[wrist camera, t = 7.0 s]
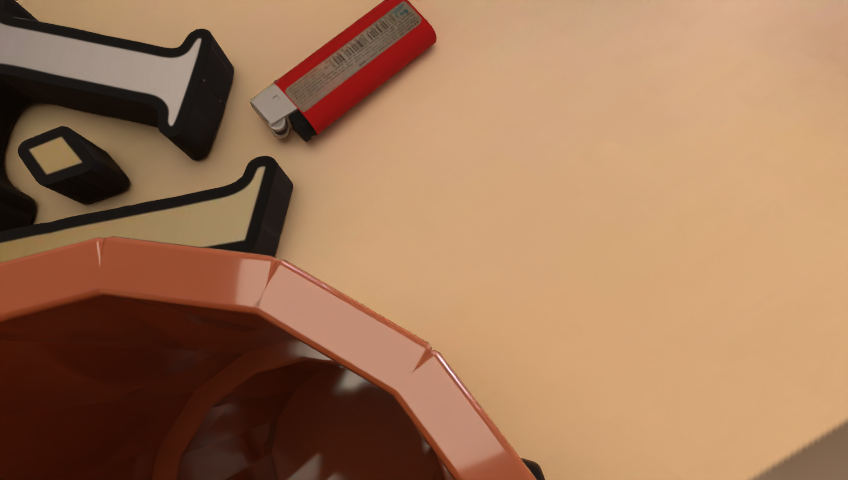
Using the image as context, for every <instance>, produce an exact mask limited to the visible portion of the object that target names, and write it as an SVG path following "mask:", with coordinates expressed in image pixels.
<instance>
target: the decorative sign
mask: <svg viewBox="0 0 848 480" xmlns="http://www.w3.org/2000/svg"><path fill="white" fill-rule="evenodd" d="M233 74H234V69H233V66H232V64H231V63H230V61H229V60H228V58H227V57H226V55H225V54H224V52H223V51H222V49H221V48H220V46H219V45H218V43H217V42H216V40H215V39H214V37H213V36H212V34H211V33H210V31H208V30H206V29H196V30H195V31H193V32H191V33H190V34H189V35H188V36H187V38H186V39H185V41H184V42H183V44H182V45H181V46H180V47H178V48H164V47H159V46H155V45H150V44H146V43H141V42H136V41H131V40H126V39H121V38H115V37H110V36H105V35H101V34H96V33H92V32H88V31H84V30H79V29H75V28H70V27H65V26H59V25H54V24H49V23H43V22H39V21H38V20H37V19H36V18H34V17H33V16H32V15H31V14H30V13H29V12H28V11H26V10H25V9H24V8H23V7H22V6H21V5H19V4H18V3H17V2H16V1H15V0H0V263H1V262H5V261H9V260H13V259H17V258H20V257H24V256H28V255H32V254H36V253H40V252H43V251H47V250H51V249H55V248H59V247H63V246H66V245H70V244H74V243H78V242H82V241H86V240H90V239H93V238H97V237H101V238H107V237H111V236H116V237H124V238H132V239H140V240H148V241H156V242H164V243H173V244H181V245H189V246H197V247H205V248H213V249H221V250H229V251H237V252H245V253H253V254H261V255H269V256H273V257H274V256H275V253H276V250H277V247H278V242H279V238H280V234H281V230H282V227H283V223H284V219H285V215H286V211H287V208H288V204H289V200H290V196H291V192H292V188H293V184H292V182H291V180H290V179H289V178H288V176H287V175H286V174H285V172H284V171H283V170H282V169H281V167H280V166H279V165H278V163H277V162H276V161H275V159H273V158H272V157H269V156H261V157H257V158H255V159H253V160H251V161H250V162H249V163H248V165H247V167H246V170H245V172H244V174H243V176H242V177H241V178H240V179H239V180H238V181H236V182H234V183H232V184H230V185H227V186H224V187H220V188H215V189H210V190H205V191H200V192H195V193H191V194H186V195H181V196H177V197H172V198H166V199H160V200H155V201H149V202H144V203H140V204H136V205H131V206H124V207H120V208H116V209H110V210H105V211H100V212H94V213H89V214H84V215H78V216H73V217H69V218H65V219H60V220H56V221H53V222H48V223H40V224H35V225H30V223H31V220H32V218H33V215H34V212H35V202H34V200H33V199H32V198H31V197H29V196H28V195H26V194H24V193H22V192H21V191H19V190H17V189H16V188H15V187H14V186H13V185H12V184H11V183H10V182H9V180H8V179H7V177H6V175H5V173H4V169H3V152H4V147H5V143H6V140H7V137H8V134H9V131H10V129H11V126H12V124H13V122H14V120H15V118H16V117H17V115H18V114H19V113H20V112H21V111H22V109H24V108H25V107H26V106H28V105H30V104H33V103H49V104H55V105H60V106H64V107H68V108H72V109H76V110H81V111H85V112H90V113H94V114H99V115H104V116H110V117H115V118H120V119H125V120H130V121H135V122H139V123H144V124H149V125H153V126H158V128H159V130H160V132H161V133H163V134H164V135H165V136H166V137H167V138H168V139H169V140H171V141H172V142H173V143H174V144H175V145H176V146H178V147H179V148H180V149H181V150H182V151H183V152H185V153H186V154H187V155H188V156H189V157H190V158H192V159H193V160H201V159H203V158H204V157H205V156H206V155H207V154H208V152H209V151H210V148H211V146H212V143H213V140H214V137H215V134H216V131H217V129H218V126H219V123H220V120H221V117H222V114H223V111H224V108H225V102H226V99H227V96H228V93H229V90H230V86H231V83H232V79H233ZM18 154H19V156H20V158H21V159H22V161H23V162H24V164H25V165H26V166H27V168H28V169H29V171H30V172H31V174H32V175H33V177H34V178H35V179H36V181H37V182H38V183H39V184H40V185H42V186H45V187H47V188H49V189H51V190H53V191H56V192H58V193H60V194H62V195H64V196H67V197H69V198H71V199H73V200H75V201H78V202H80V203H82V204H88V203H92V202H94V201H98V200H100V199H103V198H105V197H109V196H112V195H115V194H118V193H121V192H123V191H124V190H126V189H127V187H128V184H129V179H128V177H127V176H126V175H125V174H124V173H123V171H122V170H121V169H120V167H119V166H118V165H117V164H116V163H115V162H114V160H113V159H112V158H111V157H110V156H109V154H108V153H107V152H105V151H104V150H102V149H101V148H99V147H98V146H96V145H95V144H93V143H92V142H90V141H88V140H87V139H85V138H84V137H82V136H81V135H79V134H78V133H76V132H75V131H73V130H72V129H70V128H68V127H65V126H61V127H58V128H55V129H52V130H50V131H48V132H45V133H43V134H40V135H38V136H35V137H33V138H30V139H28V140H25V141H24V142H22V143H21V144H20V146H19V148H18ZM29 225H30V226H29Z"/></svg>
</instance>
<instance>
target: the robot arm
mask: <svg viewBox="0 0 848 480" xmlns="http://www.w3.org/2000/svg"><path fill="white" fill-rule="evenodd" d="M521 460H522V461H523V462H524V463H525V465H526V466H527V467H528V469H529V470H530V471H531V473H532V474H533V475H534V476H535V478H536V479H537V480H545V478H544V476H543V473H542V470H541V468H540V466H539V465H538V464H537V463H535V462H533V461H530V460H526V459H523V458H521Z"/></svg>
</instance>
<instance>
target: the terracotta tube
mask: <svg viewBox="0 0 848 480" xmlns="http://www.w3.org/2000/svg"><path fill="white" fill-rule="evenodd" d="M431 350H432V347H431V346H430V345H429V343H428V342H426V341H424V340H422V339H421V338H419V337H417V336H416V335H414V334H412V333H410V332H409V331H407V330H405V329H403V328H402V327H400V326H398V325H397V324H395V323H393V322H391V321H390V320H388V319H386V318H384V317H383V316H381V315H379V314H378V313H376V312H374V311H372V310H371V309H369V308H367V307H365V306H364V305H362V304H360V303H359V302H357V301H355V300H353V299H352V298H350V297H348V296H346V295H345V294H343V293H341V292H339V291H338V290H336V289H334V288H333V287H331V286H329V285H327V284H326V283H324V282H322V281H320V280H319V279H317V278H315V277H314V276H312V275H310V274H308V273H307V272H305V271H303V270H301V269H300V268H298V267H296V266H295V265H293V264H291V263H289V262H288V261H286V260H278V259H277V258H275V257H273V256H269V255H261V254H253V253H245V252H237V251H229V250H221V249H213V248H205V247H197V246H189V245H181V244H173V243H164V242H156V241H148V240H140V239H132V238H124V237H116V236H111V237H107V238H101V237H97V238H93V239H90V240H86V241H82V242H78V243H74V244H70V245H66V246H63V247H59V248H55V249H51V250H47V251H43V252H40V253H36V254H32V255H28V256H24V257H20V258H17V259H13V260H9V261H5V262H1V263H0V480H537V479H536V478H535V476H534V475H533V474H532V473H531V471H530V470H529V469H528V467H527V466H526V465H525V463H524V462H523V461H522V460H521V458H520V457H519V456H518V454H517V453H516V452H515V450H514V449H513V448H512V446H511V445H510V444H509V443H508V441H507V440H506V439H505V437H504V436H503V435H502V433H501V432H500V431H499V430H498V428H497V427H496V426H495V424H494V423H493V422H492V420H491V419H490V418H489V417H488V415H487V414H486V413H485V411H484V410H483V409H482V407H481V406H480V405H479V403H478V402H477V401H476V400H475V398H474V397H473V396H472V394H471V393H470V392H469V390H468V389H467V388H466V387H465V385H464V384H463V383H462V381H461V380H460V379H459V377H458V376H457V375H456V373H455V372H454V371H453V370H452V368H451V367H450V366H449V364H448V363H447V362H446V360H445V359H444V358H443V357H442V355H441V354H440V353H439V352H437V351H436V350H432V351H431Z"/></svg>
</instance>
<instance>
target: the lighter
mask: <svg viewBox="0 0 848 480" xmlns="http://www.w3.org/2000/svg"><path fill="white" fill-rule="evenodd" d="M435 42H436V34H435V31H434V29H433V28H432V26H431V25H430V24H429V23H428V21H427V20H426V19H425V18H424V17H423V16H422V15H421V14H420V13H419V12H418V11H417V10H416V9H415V8H414V7H413V6H412V5H411V3H410V2H409V1H408V0H384V1H383V2H382V3H380V4H379V5H378V6H376V7H375V8H373V9H372V10H371V11H369V12H368V13H367V14H365V15H364V16H363V17H361V18H360V19H359V20H357V21H356V22H355V23H353V24H352V25H351V26H349V27H348V28H347V29H345V30H344V31H343V32H341V33H340V34H339V35H337V36H336V37H335V38H333V39H332V40H331V41H329V42H328V43H327V44H325V45H324V46H322V47H321V48H320V49H318V50H317V51H316V52H314V53H313V54H312V55H310V56H309V57H308V58H306V59H305V60H304V61H302V62H301V63H300V64H298V65H297V66H296V67H294V68H293V69H292V70H290V71H289V72H288V73H286V74H285V75H284V76H282V77H281V78H280V79H278V80H275V81H274V83H273V84H271V85H270V86H269V87H267V88H266V89H265V90H263V91H262V92H261V93H259V94H258V95H257V96H255V97H254V98H253V99H251V100H250V101H249V102H250V104H251V105H252V107H253V108H254V110H255V111H256V112H257V114H258V115H259V116H260V117H261V118H262V120H263V121H264V122H265V123H266V124H267V125H268V126H269V128H270V129H271V130H272V132H273V134H274V136H275V137H277V138H285V137H286V136H287V135H288V134H289V128H291V127H293V129H294V130H295V131H296V132H297V133H298V134H299V135H300V136H301V138H302V139H303V140H304V141H306V142H308V141H309V140H310V139H312V138H311V137H312V136H314V135H318V134H319V133H320V132H321V131H323V130H324V129H325V128H327V127H328V126H329V125H330V124H332V123H333V122H334V121H336V120H337V119H338V118H339V117H341V116H342V115H343V114H345V113H346V112H347V111H348V110H350V109H351V108H352V107H353V106H355V105H356V104H357V103H359V102H360V101H361V100H362V99H364V98H365V97H366V96H368V95H369V94H370V93H371V92H373V91H374V90H375V89H377V88H378V87H379V86H380V85H382V84H383V83H384V82H386V81H387V80H388V79H389V78H391V77H392V76H393V75H394V74H396V73H397V72H398V71H400V70H401V69H402V68H403V67H405V66H406V65H407V64H409V63H410V62H411V61H412V60H414V59H415V58H416V57H418V56H419V55H420V54H421V53H423V52H424V51H425V50H427V49H428V48H429V47H430V46H432V45H433V44H434V43H435Z"/></svg>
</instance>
